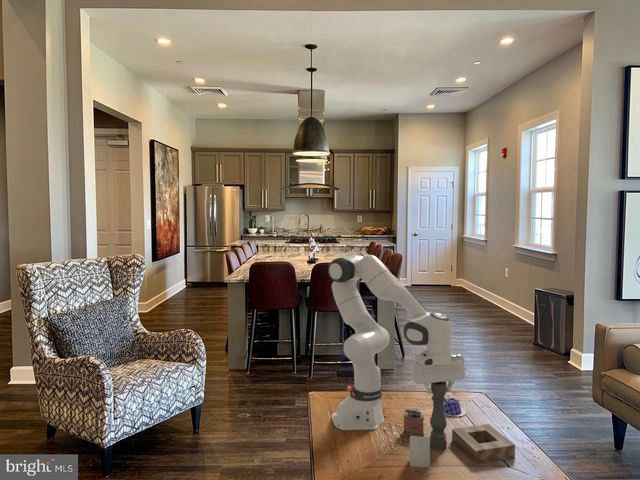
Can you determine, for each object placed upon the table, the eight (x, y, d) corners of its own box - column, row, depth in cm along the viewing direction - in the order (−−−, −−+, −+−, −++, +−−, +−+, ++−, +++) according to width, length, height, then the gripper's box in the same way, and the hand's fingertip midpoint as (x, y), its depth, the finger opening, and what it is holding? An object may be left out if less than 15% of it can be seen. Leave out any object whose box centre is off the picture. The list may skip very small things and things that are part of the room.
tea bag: (429, 467, 155) (429, 440, 154) (410, 466, 156) (410, 439, 155) (428, 461, 159) (429, 435, 158) (409, 460, 160) (409, 433, 159)
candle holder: (447, 451, 165) (447, 386, 163) (430, 449, 166) (430, 385, 164) (445, 442, 171) (446, 380, 169) (429, 441, 172) (429, 378, 170)
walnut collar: (475, 464, 157) (475, 450, 156) (452, 441, 172) (452, 428, 172) (514, 458, 160) (515, 445, 160) (488, 436, 176) (488, 423, 175)
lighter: (424, 433, 179) (424, 409, 178) (423, 437, 175) (423, 413, 175) (404, 430, 181) (404, 406, 180) (402, 434, 178) (402, 410, 177)
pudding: (446, 403, 206) (446, 392, 206) (470, 411, 198) (471, 399, 197) (433, 412, 197) (433, 400, 197) (458, 420, 189) (458, 409, 189)
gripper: (459, 351, 171) (459, 386, 173) (410, 356, 167) (410, 391, 168) (468, 357, 165) (468, 392, 166) (418, 361, 161) (417, 398, 162)
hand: (438, 392), depth 167 cm, fingers open, 6 cm apart
